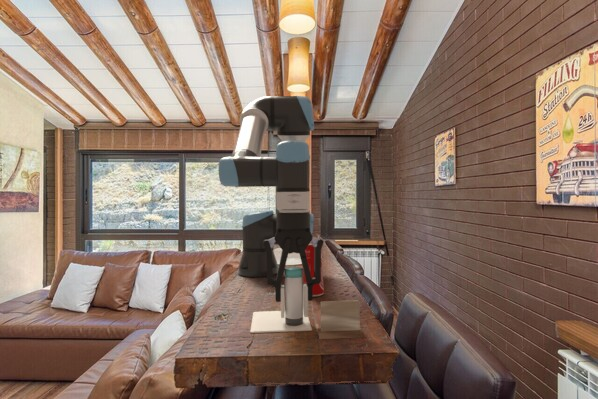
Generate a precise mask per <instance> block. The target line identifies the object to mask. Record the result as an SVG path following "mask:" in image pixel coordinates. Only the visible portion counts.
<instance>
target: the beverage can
mask: <svg viewBox="0 0 598 399" xmlns="http://www.w3.org/2000/svg"><path fill="white" fill-rule="evenodd" d="M314 248H315V247H314V246H313V242H310V243H309V245H308V246H307V248H306V249H305V253H306V258H307V262H308V266H309V270H310V274H311V278H314ZM322 258H323V256H322V254H321V282H320V283H319V284H315V285H314V286H313V297H320V296H322V295H324V293H325V289H324V288H325V286H324V276H323V275H324V274H323V273H324V272H323V259H322ZM303 284H307V282H306V278H305V274H304V270H303Z"/></svg>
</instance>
